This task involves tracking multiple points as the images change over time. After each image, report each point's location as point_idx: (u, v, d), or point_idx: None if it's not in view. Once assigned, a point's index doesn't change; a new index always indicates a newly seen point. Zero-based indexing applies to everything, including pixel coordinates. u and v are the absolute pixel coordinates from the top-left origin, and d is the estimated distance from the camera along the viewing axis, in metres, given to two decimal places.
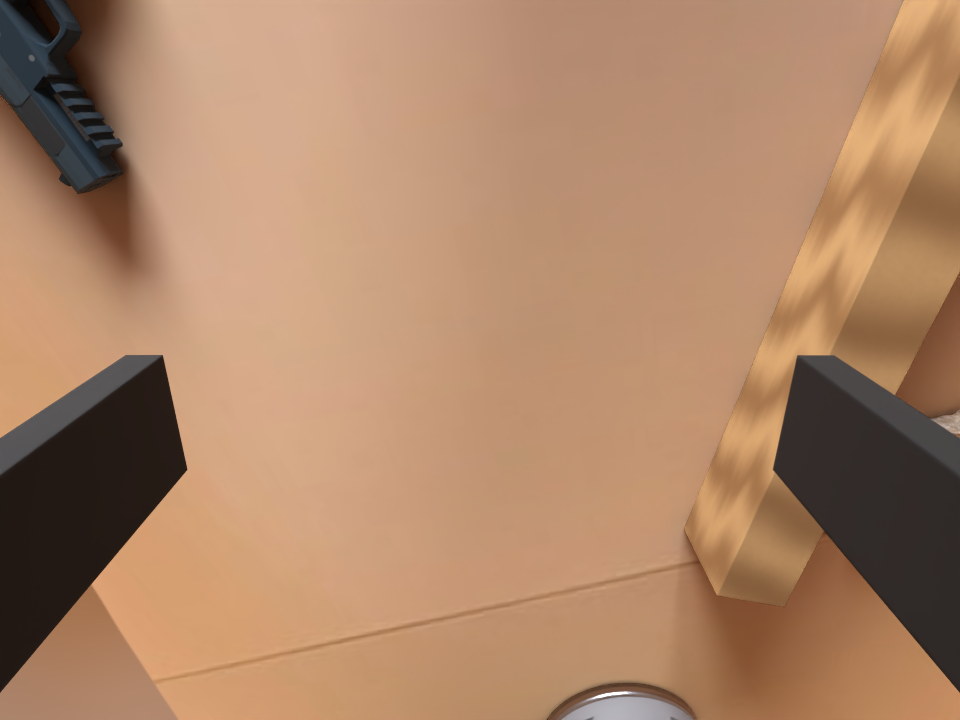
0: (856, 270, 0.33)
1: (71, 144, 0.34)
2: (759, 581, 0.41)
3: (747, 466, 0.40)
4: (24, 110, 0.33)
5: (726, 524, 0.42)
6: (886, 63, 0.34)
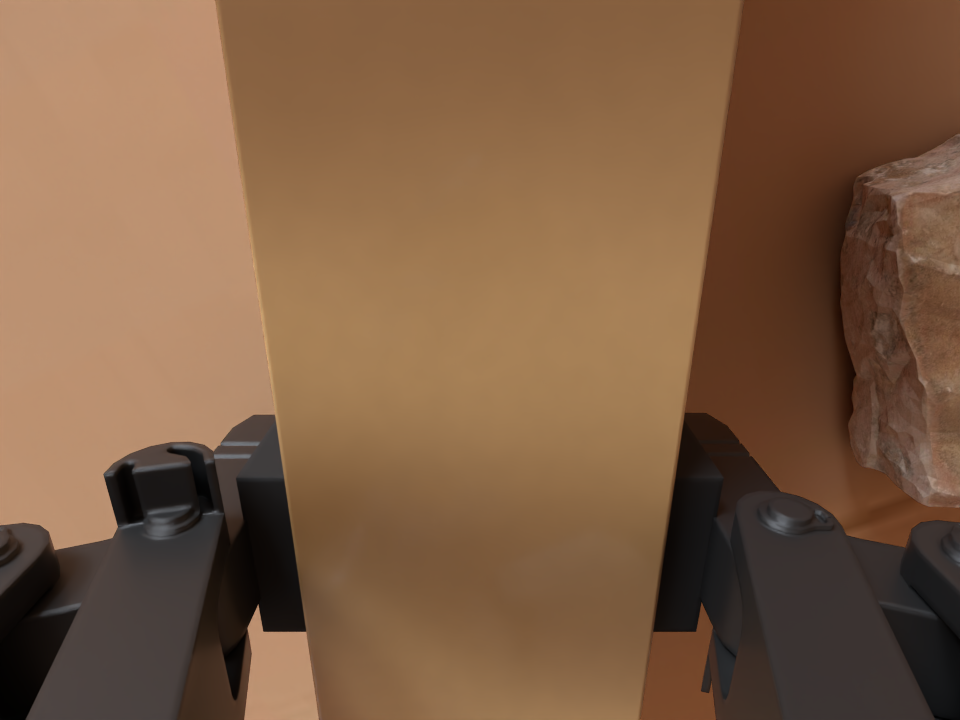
0: None
1: None
2: None
3: None
4: None
5: None
6: None
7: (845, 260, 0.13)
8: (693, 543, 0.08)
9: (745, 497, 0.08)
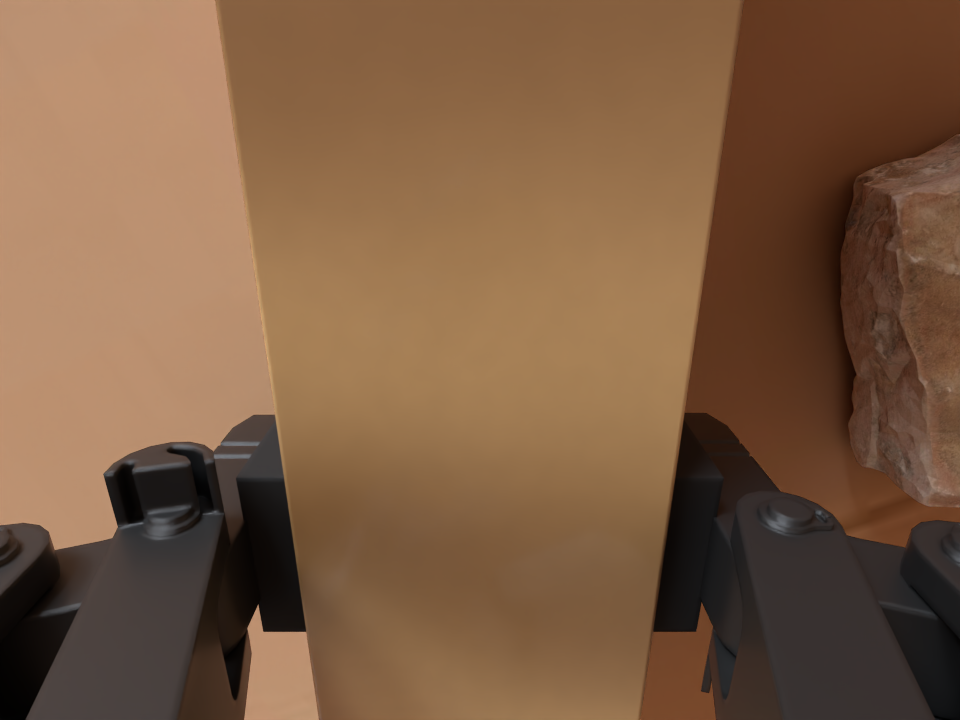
0: None
1: None
2: None
3: None
4: None
5: None
6: None
7: (845, 260, 0.13)
8: (693, 543, 0.08)
9: (745, 497, 0.08)
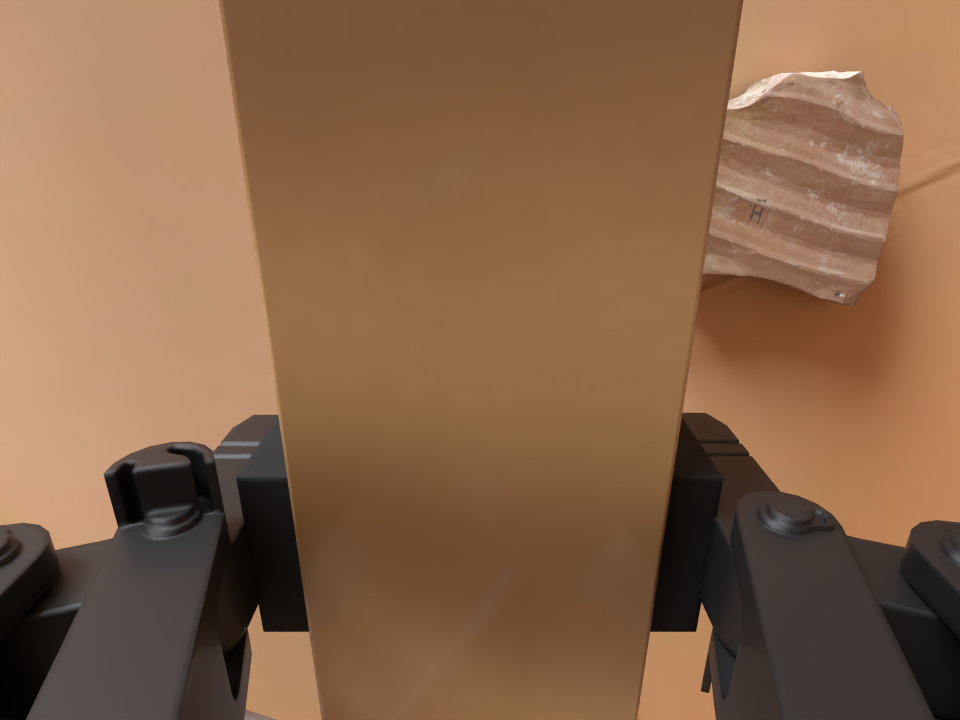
0: None
1: None
2: None
3: None
4: None
5: None
6: None
7: None
8: (693, 543, 0.08)
9: (745, 497, 0.08)
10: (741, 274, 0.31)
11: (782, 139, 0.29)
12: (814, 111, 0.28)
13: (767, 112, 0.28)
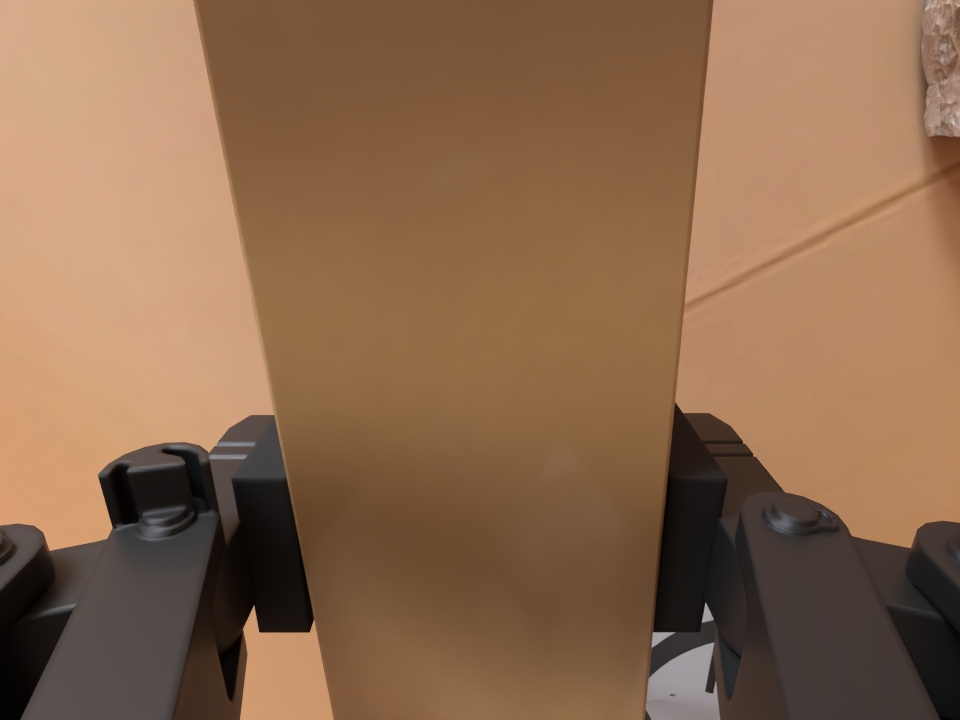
0: None
1: None
2: None
3: None
4: None
5: None
6: None
7: (924, 22, 0.28)
8: (697, 544, 0.08)
9: (750, 498, 0.08)
10: None
11: None
12: None
13: None
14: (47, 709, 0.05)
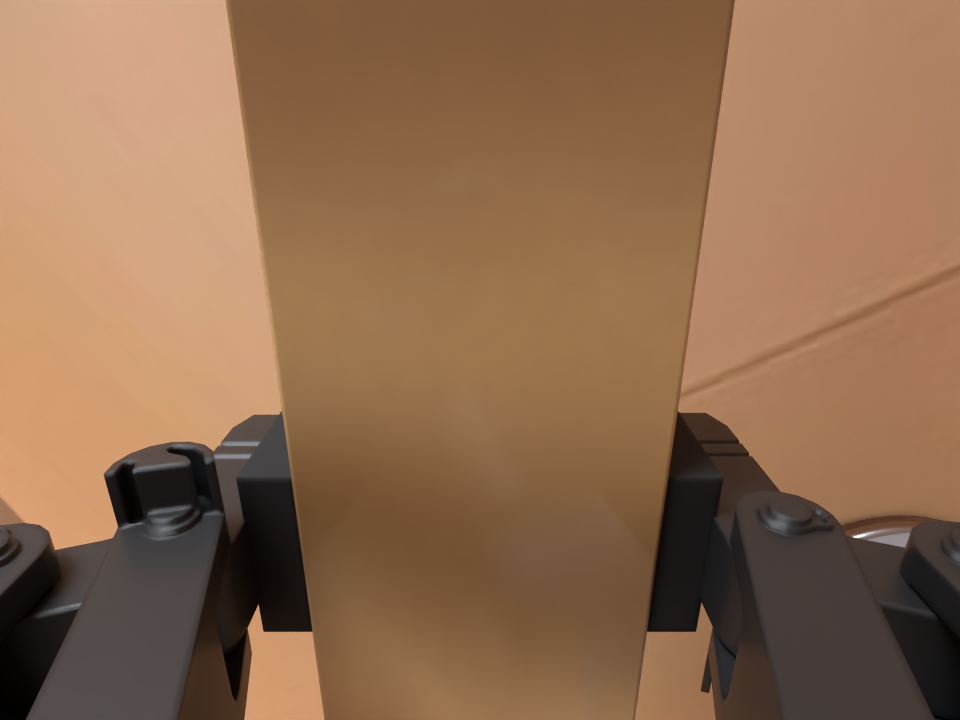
0: None
1: None
2: None
3: None
4: None
5: None
6: None
7: None
8: (693, 543, 0.08)
9: (745, 497, 0.08)
10: None
11: None
12: None
13: None
14: (54, 707, 0.05)
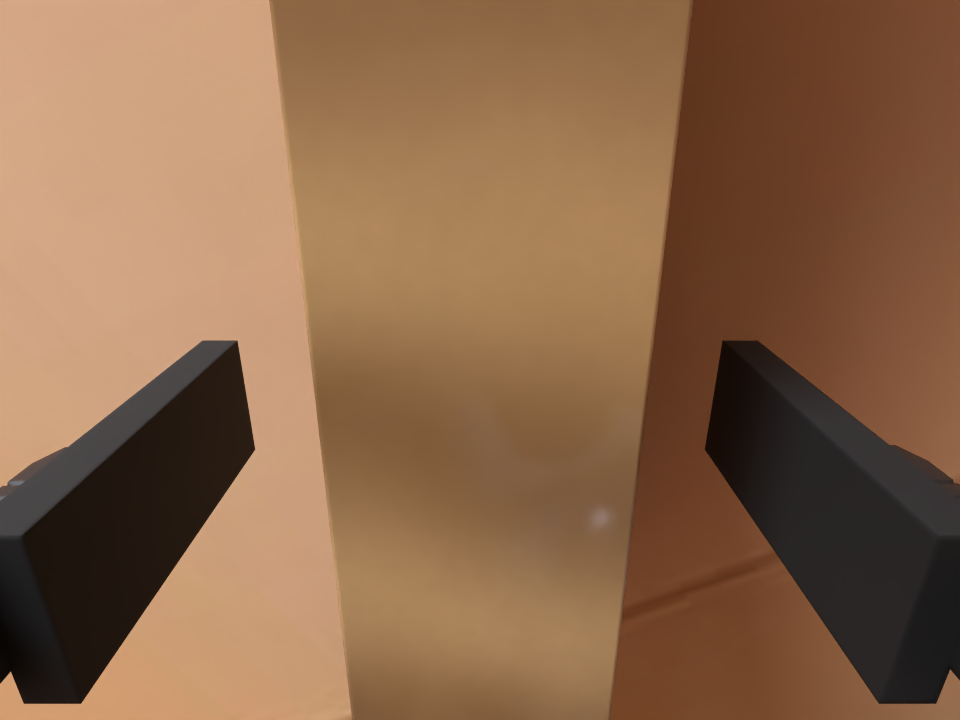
0: None
1: None
2: (476, 714, 0.11)
3: None
4: None
5: None
6: None
7: None
8: (953, 608, 0.07)
9: None
10: None
11: None
12: None
13: None
14: None
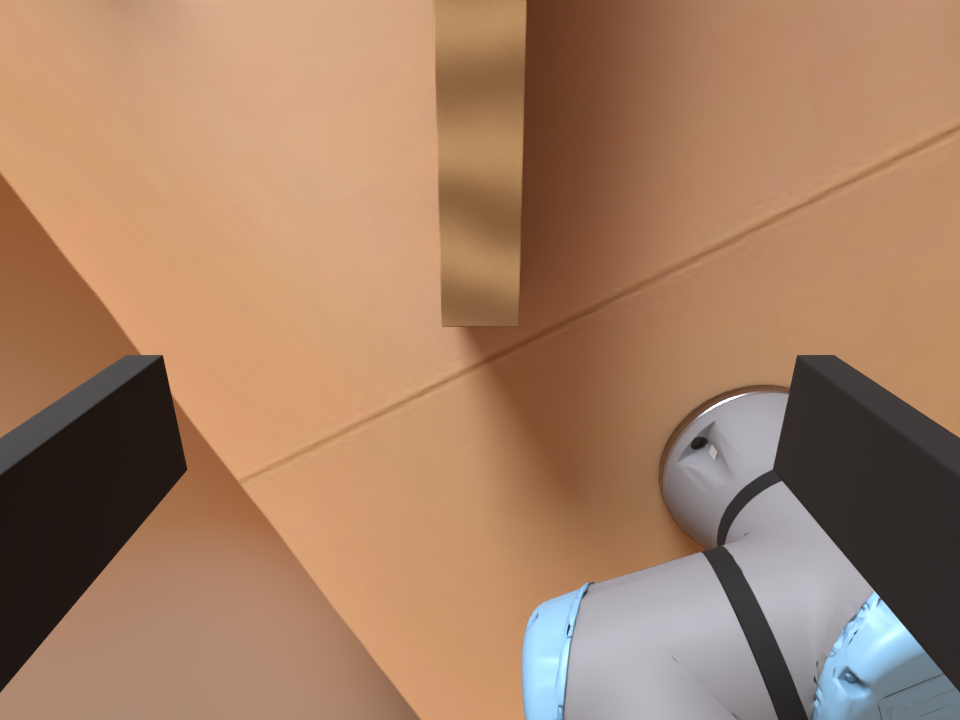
0: None
1: None
2: (478, 299, 0.38)
3: None
4: None
5: None
6: None
7: None
8: None
9: None
10: None
11: None
12: None
13: None
14: None
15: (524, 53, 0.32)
